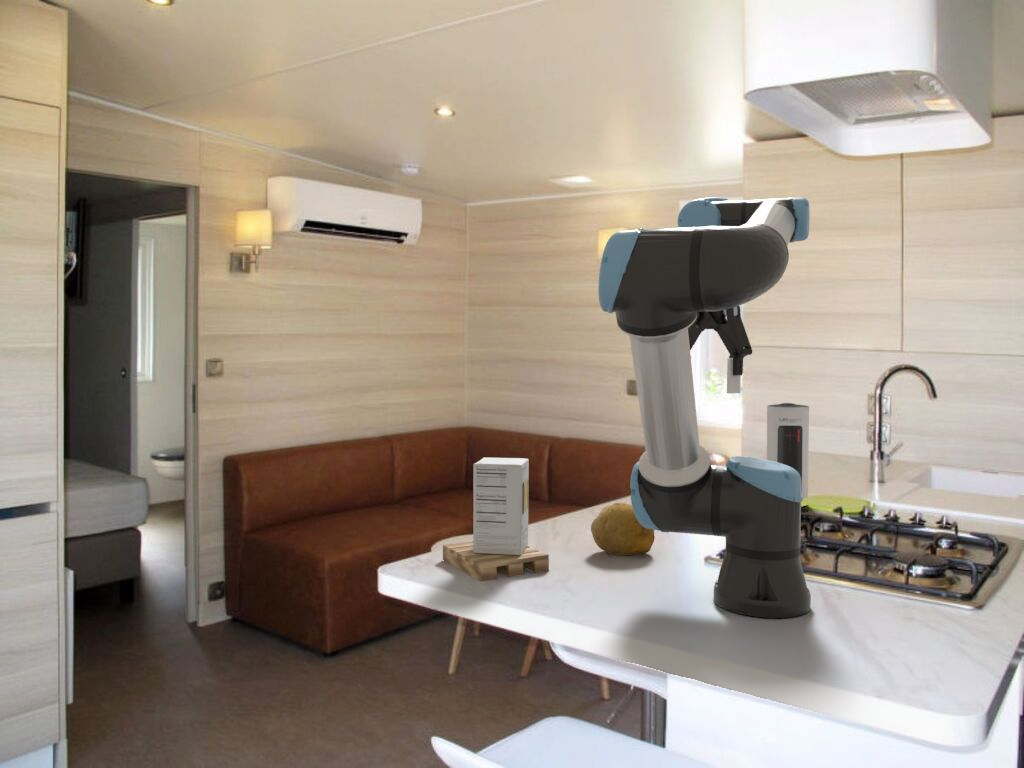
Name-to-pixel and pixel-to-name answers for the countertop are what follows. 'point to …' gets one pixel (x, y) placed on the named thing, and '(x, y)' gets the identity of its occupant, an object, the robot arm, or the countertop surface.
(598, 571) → the countertop surface
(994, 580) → the countertop surface
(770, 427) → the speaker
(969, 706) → the countertop surface
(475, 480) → the supplement box
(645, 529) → the potato
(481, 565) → the wooden pallet
